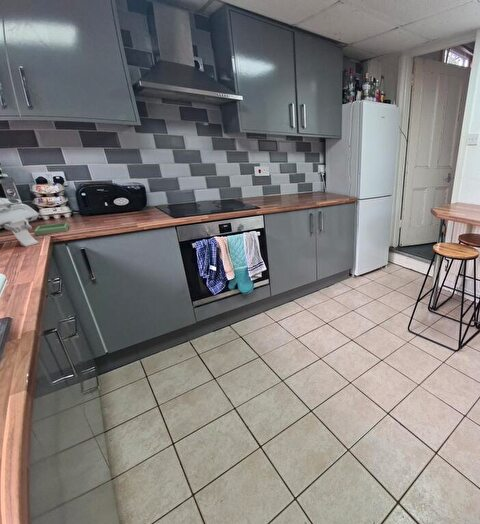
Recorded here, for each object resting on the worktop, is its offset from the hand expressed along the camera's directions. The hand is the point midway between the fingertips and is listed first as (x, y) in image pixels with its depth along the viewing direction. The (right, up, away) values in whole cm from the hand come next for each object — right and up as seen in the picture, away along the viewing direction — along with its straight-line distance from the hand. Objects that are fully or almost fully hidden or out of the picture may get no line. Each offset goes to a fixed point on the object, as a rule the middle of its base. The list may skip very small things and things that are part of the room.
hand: (24, 230), depth 131 cm
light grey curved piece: (-1, -6, +3) cm, 7 cm away
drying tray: (-9, +2, +21) cm, 23 cm away
